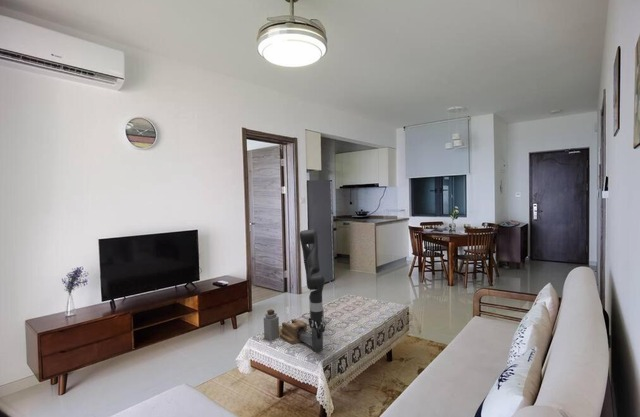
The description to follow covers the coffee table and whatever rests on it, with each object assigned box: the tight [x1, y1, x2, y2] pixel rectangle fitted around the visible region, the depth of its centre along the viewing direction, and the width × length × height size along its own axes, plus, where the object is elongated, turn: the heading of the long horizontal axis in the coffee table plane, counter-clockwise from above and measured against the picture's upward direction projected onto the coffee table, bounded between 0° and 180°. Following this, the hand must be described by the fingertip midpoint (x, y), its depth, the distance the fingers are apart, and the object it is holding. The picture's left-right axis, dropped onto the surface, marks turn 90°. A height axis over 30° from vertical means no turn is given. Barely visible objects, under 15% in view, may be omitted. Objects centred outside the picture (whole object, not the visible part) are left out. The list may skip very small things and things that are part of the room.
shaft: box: [297, 326, 324, 352], centre depth 217 cm, size 5×28×14 cm, turn 39°
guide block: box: [279, 318, 308, 345], centre depth 226 cm, size 14×14×10 cm
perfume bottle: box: [263, 308, 280, 342], centre depth 227 cm, size 7×7×18 cm
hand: (317, 337), depth 208 cm, fingers closed on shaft, 4 cm apart
